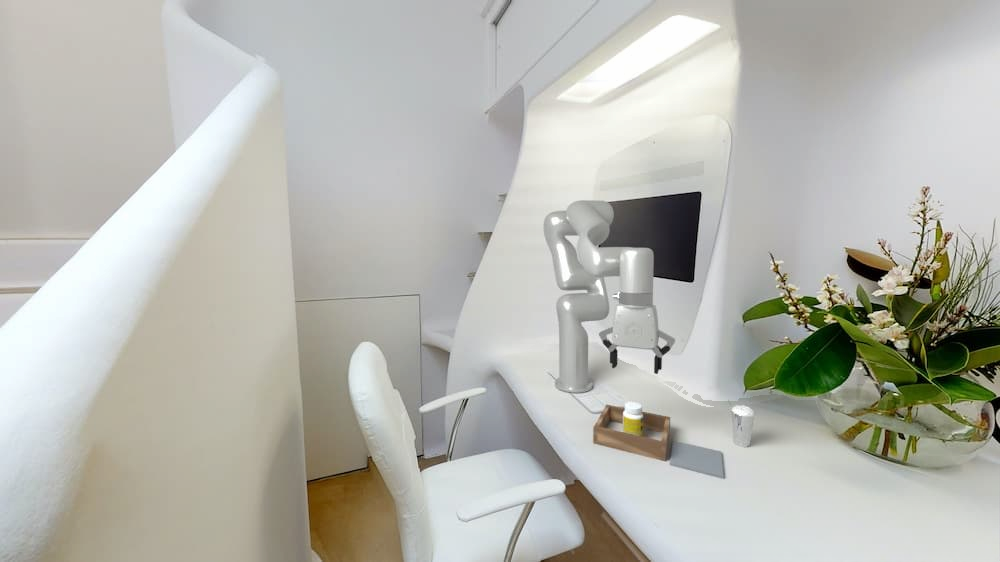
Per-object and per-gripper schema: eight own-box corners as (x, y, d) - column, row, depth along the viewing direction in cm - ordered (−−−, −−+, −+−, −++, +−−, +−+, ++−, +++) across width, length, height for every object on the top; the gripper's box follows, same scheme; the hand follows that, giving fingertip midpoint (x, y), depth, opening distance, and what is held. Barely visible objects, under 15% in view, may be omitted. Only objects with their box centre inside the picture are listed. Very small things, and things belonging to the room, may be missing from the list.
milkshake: (728, 435, 91) (730, 396, 90) (754, 443, 87) (757, 403, 86) (723, 442, 88) (725, 402, 87) (750, 451, 84) (752, 409, 83)
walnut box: (606, 418, 100) (606, 404, 100) (669, 431, 93) (670, 417, 92) (593, 443, 88) (593, 427, 88) (665, 461, 81) (665, 444, 80)
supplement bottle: (644, 443, 88) (645, 410, 87) (623, 441, 89) (624, 408, 88) (640, 433, 92) (641, 401, 91) (621, 431, 93) (622, 400, 92)
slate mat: (672, 442, 88) (673, 440, 88) (721, 453, 83) (721, 451, 83) (669, 464, 79) (669, 462, 79) (723, 478, 74) (723, 476, 74)
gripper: (595, 299, 88) (595, 368, 89) (675, 303, 79) (673, 379, 81) (602, 296, 94) (602, 360, 96) (677, 299, 86) (675, 369, 87)
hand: (635, 369), depth 88 cm, fingers open, 9 cm apart
